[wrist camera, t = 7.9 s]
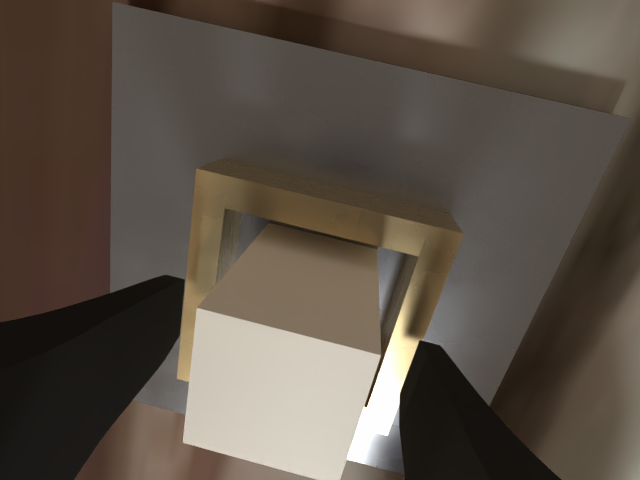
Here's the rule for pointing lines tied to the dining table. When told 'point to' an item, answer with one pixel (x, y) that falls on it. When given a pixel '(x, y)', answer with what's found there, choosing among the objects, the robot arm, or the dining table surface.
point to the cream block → (286, 353)
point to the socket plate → (345, 190)
